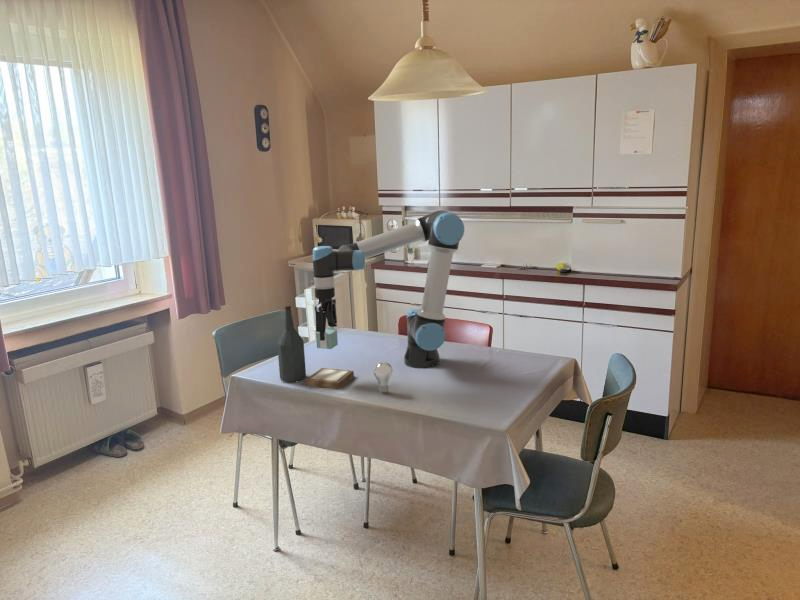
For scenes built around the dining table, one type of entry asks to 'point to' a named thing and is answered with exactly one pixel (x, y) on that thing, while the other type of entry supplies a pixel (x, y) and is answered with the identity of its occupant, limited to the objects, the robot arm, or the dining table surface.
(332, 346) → the cube
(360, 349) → the dining table surface
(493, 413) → the dining table surface
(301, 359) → the bottle
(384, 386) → the light bulb
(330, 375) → the picture frame
